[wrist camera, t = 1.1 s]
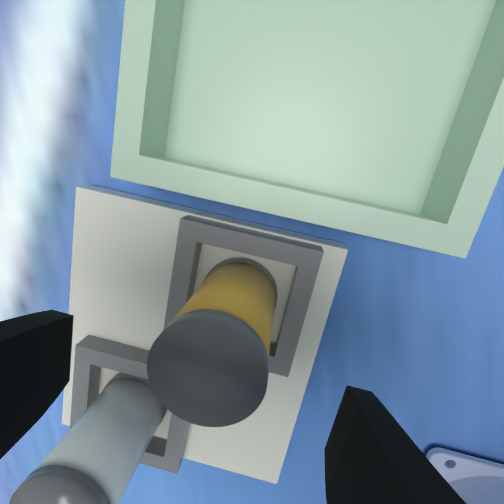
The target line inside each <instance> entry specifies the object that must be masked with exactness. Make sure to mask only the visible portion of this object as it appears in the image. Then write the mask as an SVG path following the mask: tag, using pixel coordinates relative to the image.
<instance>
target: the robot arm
mask: <svg viewBox="0 0 504 504" xmlns="http://www.w3.org/2000/svg"><path fill="white" fill-rule="evenodd" d="M73 318H74V315H70V314H66V313H62V312H58V311H54V310H48V311H42V312H37V313H33V314H29V315H24V316H20V317H16V318H12V319H8V320H5V321H1V322H0V459H1V458H2V457H3V456H4V455H5V454H6V453H7V452H8V451H9V450H10V449H11V448H12V447H13V446H14V445H15V444H16V443H17V442H18V441H19V440H20V439H21V438H22V437H23V436H24V435H25V433H26V432H27V431H28V430H29V429H30V428H31V427H32V426H33V425H34V424H35V423H36V422H37V421H38V420H39V419H40V418H41V417H42V416H43V414H44V413H45V412H46V411H47V409H48V408H49V407H50V406H51V405H52V403H53V402H54V401H55V400H56V398H57V397H58V396H59V394H60V393H61V392H62V390H63V389H64V388H65V386H66V385H67V384H68V382H69V381H70V366H71V350H72V334H73ZM448 460H450V461H448ZM447 461H448V462H447ZM325 484H326V500H327V504H504V465H503V464H500V463H496V462H492V461H488V460H485V459H481V458H477V457H473V456H470V455H466V454H462V453H458V452H454V451H451V450H447V449H443V448H437V447H436V448H432V449H430V450H429V451H428V453H427V455H426V456H425V455H424V454H423V453H422V452H421V451H420V449H419V448H418V447H417V446H416V444H415V443H414V442H413V441H412V440H411V438H410V437H409V436H408V435H407V434H406V432H405V431H404V430H403V429H402V427H401V426H400V425H399V424H398V423H397V421H396V420H395V419H394V418H393V416H392V415H391V414H390V413H389V412H388V410H387V409H386V408H385V407H384V405H383V404H382V403H381V402H380V401H379V400H378V398H377V397H376V396H375V395H374V394H373V393H372V392H371V391H367V390H363V389H359V388H355V387H351V386H347V387H346V389H345V392H344V395H343V398H342V401H341V404H340V407H339V410H338V413H337V415H336V418H335V421H334V424H333V427H332V430H331V433H330V436H329V438H328V441H327V444H326V447H325Z"/></svg>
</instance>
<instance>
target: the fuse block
mask: <svg viewBox="0 0 504 504" xmlns="http://www.w3.org/2000/svg"><path fill="white" fill-rule="evenodd" d="M347 252H348V249H347V247H346V246H345V245H344V243H340V242H335V241H331V240H327V239H323V238H318V237H314V236H310V235H305V234H301V233H297V232H292V231H288V230H284V229H279V228H275V227H271V226H266V225H262V224H258V223H254V222H249V221H245V220H241V219H236V218H232V217H228V216H223V215H219V214H215V213H210V212H206V211H202V210H198V209H193V208H189V207H185V206H180V205H176V204H172V203H167V202H163V201H159V200H154V199H150V198H146V197H142V196H137V195H133V194H129V193H124V192H120V191H116V190H111V189H107V188H103V187H98V186H94V185H88V186H76V199H75V215H74V232H73V249H72V265H71V282H70V298H69V314H70V315H74V318H73V334H72V350H71V366H70V381H69V382H68V384H67V385H66V386H65V388H64V398H63V415H62V424H64V425H68V426H70V429H71V427H72V426H73V425H74V424H75V423H76V422H77V420H78V419H79V418H80V417H81V416H82V415H83V413H84V412H85V411H86V410H87V409H88V407H89V406H90V405H91V404H92V403H93V402H94V400H95V399H96V398H97V397H98V396H99V394H100V393H101V392H102V391H103V389H104V387H105V386H106V385H107V384H108V382H109V381H110V380H111V379H112V378H113V377H114V376H115V375H116V374H117V373H119V372H122V373H125V374H129V375H133V376H137V377H140V378H144V379H148V375H147V358H148V354H149V351H150V348H151V346H152V345H153V343H154V341H155V340H156V339H157V337H158V336H159V335H160V334H161V332H162V331H163V330H164V328H165V327H166V326H167V325H168V324H169V323H170V322H171V321H172V320H174V319H175V317H176V316H177V315H178V313H179V312H180V311H181V310H182V308H183V307H184V306H185V304H186V303H187V302H188V301H189V299H190V298H191V297H192V296H193V294H194V293H195V292H196V290H197V289H198V288H199V287H200V285H201V284H202V283H203V281H204V279H205V277H206V276H207V274H208V273H209V272H210V271H211V269H212V268H213V267H214V266H215V265H216V264H218V263H219V262H221V261H223V260H225V259H228V258H232V257H245V258H250V259H253V260H255V261H257V262H259V263H260V264H262V265H263V266H264V267H266V268H267V269H268V270H269V272H270V273H271V274H272V276H273V278H274V280H275V283H276V286H277V303H276V308H275V311H274V318H273V326H272V334H271V343H270V351H269V374H268V383H267V389H266V393H265V396H264V399H263V400H262V402H261V404H260V405H259V407H258V408H257V409H256V411H254V412H253V413H252V414H251V415H250V416H249V417H247V418H246V419H244V420H242V421H241V422H238V423H236V424H233V425H229V426H224V427H204V426H199V425H195V424H192V423H189V422H187V421H185V420H182V419H181V418H179V417H177V416H175V415H174V414H173V413H171V412H170V411H169V410H167V412H166V414H165V416H164V418H163V420H162V422H161V423H160V425H159V426H158V428H157V430H156V431H155V433H154V435H153V437H152V439H151V441H150V443H149V445H148V447H147V449H146V451H145V453H144V455H143V457H142V459H141V460H140V462H139V463H141V464H145V465H148V466H152V467H156V468H159V469H163V470H166V471H170V472H173V473H178V470H179V467H180V465H181V462H182V459H183V458H185V459H189V460H192V461H196V462H200V463H203V464H207V465H210V466H214V467H217V468H221V469H225V470H228V471H232V472H235V473H239V474H242V475H246V476H249V477H253V478H257V479H260V480H264V481H267V482H271V483H274V484H277V482H278V478H279V475H280V472H281V468H282V465H283V462H284V459H285V455H286V452H287V449H288V446H289V442H290V439H291V436H292V432H293V429H294V426H295V423H296V419H297V416H298V413H299V410H300V406H301V403H302V400H303V396H304V393H305V390H306V387H307V383H308V380H309V377H310V373H311V370H312V367H313V364H314V360H315V357H316V354H317V351H318V347H319V344H320V341H321V337H322V334H323V331H324V328H325V324H326V321H327V318H328V315H329V311H330V308H331V305H332V301H333V298H334V295H335V292H336V288H337V285H338V282H339V279H340V275H341V272H342V269H343V265H344V262H345V259H346V256H347Z"/></svg>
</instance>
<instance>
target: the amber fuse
mask: <svg viewBox="0 0 504 504" xmlns="http://www.w3.org/2000/svg"><path fill="white" fill-rule="evenodd" d="M276 303H277V286H276V283H275V280H274V278H273V276H272V274H271V273H270V272H269V270H268V269H267V268H266V267H264V266H263V265H262V264H260V263H259V262H257V261H255V260H253V259H250V258H245V257H232V258H228V259H225V260H223V261H221V262H219V263H218V264H216V265H215V266H214V267H213V268H212V269H211V271H210V272H209V273H208V274H207V276H206V277H205V279H204V281H203V283H202V284H201V285H200V287H199V288H198V289H197V290H196V292H195V293H194V294H193V296H192V297H191V298H190V299H189V301H188V302H187V303H186V304H185V306H184V307H183V308H182V310H181V311H180V312H179V313H178V315H177V316H176V317H175V319H174V320H172V321H171V322H170V323H169V324H168V325H167V326H166V327H165V328H164V330H163V331H162V332H161V334H160V335H159V336H158V337H157V339H156V340H155V341H154V343H153V345H152V346H151V348H150V351H149V354H148V358H147V375H148V380H149V383H150V386H151V388H152V390H153V392H154V394H155V395H156V397H157V398H158V400H159V401H160V402H161V403H162V405H163V406H164V407H165V408H167V409H168V410H169V411H170V412H171V413H173V414H174V415H175V416H177V417H179V418H181V419H182V420H185V421H187V422H189V423H192V424H195V425H199V426H204V427H224V426H229V425H233V424H236V423H238V422H241V421H242V420H244V419H246V418H247V417H249V416H250V415H251V414H252V413H253V412H254V411H256V409H257V408H258V407H259V405H260V404H261V402H262V400H263V399H264V396H265V393H266V389H267V383H268V374H269V351H270V343H271V334H272V326H273V318H274V311H275V308H276Z"/></svg>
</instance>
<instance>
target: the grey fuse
mask: <svg viewBox="0 0 504 504" xmlns="http://www.w3.org/2000/svg"><path fill="white" fill-rule="evenodd" d="M167 410H168V409H167V408H165V407H164V406H163V405H162V403H161V402H160V401H159V400H158V398H157V397H156V395H155V394H154V392H153V390H152V388H151V386H150V383H149V380H148V379H144V378H140V377H137V376H133V375H129V374H125V373H122V372H119V373H117V374H116V375H115V376H114V377H113V378H112V379H111V380H110V381H109V382H108V384H107V385H106V386H105V387H104V389H103V391H102V392H101V393H100V394H99V396H98V397H97V398H96V399H95V400H94V402H93V403H92V404H91V405H90V406H89V407H88V409H87V410H86V411H85V412H84V413H83V415H82V416H81V417H80V418H79V419H78V420H77V422H76V423H75V424H74V425H73V426H72V427H71V429H70V430H69V431H68V432H67V433H66V435H65V436H64V437H63V438H62V439H61V440H60V442H59V443H58V444H57V445H56V446H55V447H54V449H53V450H52V451H51V452H50V453H49V455H48V456H47V457H46V458H45V459H44V460H43V462H42V463H41V464H40V465H39V466H38V467H37V469H36V470H34V471H33V472H32V473H31V474H30V475H29V476H28V477H27V478H26V479H25V480H24V482H23V483H22V484H21V485H20V486H19V488H18V489H17V490H16V491H15V492H14V494H13V495H12V497H11V500H10V504H118V503H119V501H120V499H121V497H122V495H123V493H124V491H125V489H126V488H127V486H128V484H129V482H130V480H131V478H132V476H133V474H134V472H135V470H136V468H137V466H138V464H139V462H140V460H141V459H142V457H143V455H144V453H145V451H146V449H147V447H148V445H149V443H150V441H151V439H152V437H153V435H154V433H155V431H156V430H157V428H158V426H159V425H160V423H161V422H162V420H163V418H164V416H165V414H166V412H167Z"/></svg>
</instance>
